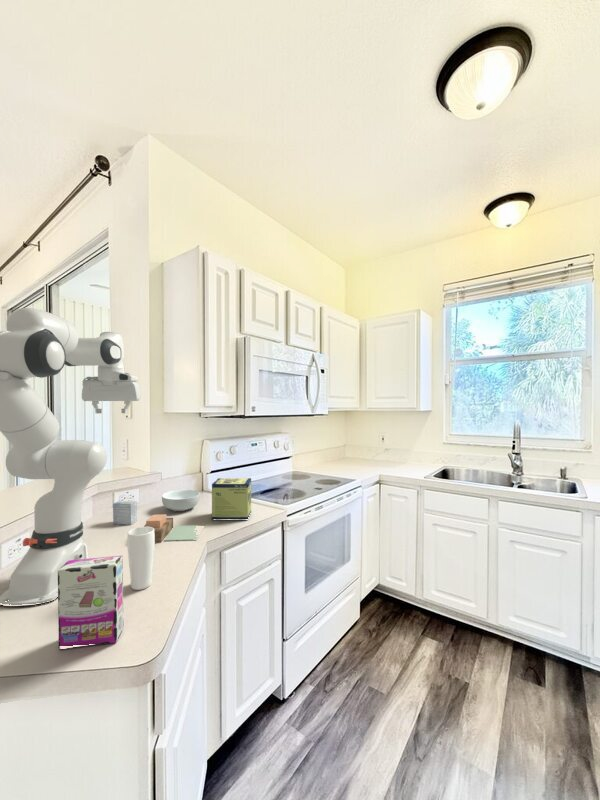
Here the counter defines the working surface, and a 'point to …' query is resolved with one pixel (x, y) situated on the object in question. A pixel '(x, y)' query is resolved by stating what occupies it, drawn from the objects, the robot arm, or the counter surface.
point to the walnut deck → (163, 530)
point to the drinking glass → (141, 556)
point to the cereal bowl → (180, 499)
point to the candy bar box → (90, 601)
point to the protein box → (231, 498)
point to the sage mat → (182, 533)
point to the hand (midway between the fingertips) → (111, 413)
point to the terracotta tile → (156, 521)
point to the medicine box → (125, 512)
